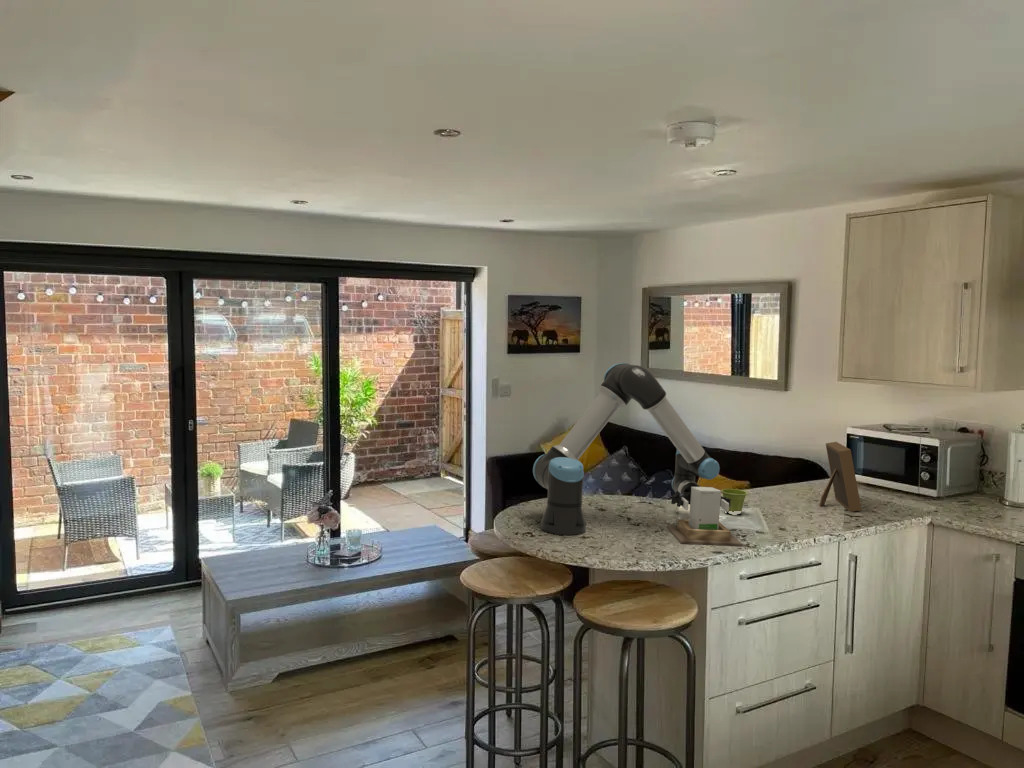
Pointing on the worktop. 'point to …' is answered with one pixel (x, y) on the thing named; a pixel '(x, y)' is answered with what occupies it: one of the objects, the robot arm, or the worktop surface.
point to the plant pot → (735, 498)
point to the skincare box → (704, 508)
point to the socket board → (702, 535)
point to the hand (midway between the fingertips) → (707, 506)
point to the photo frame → (842, 477)
